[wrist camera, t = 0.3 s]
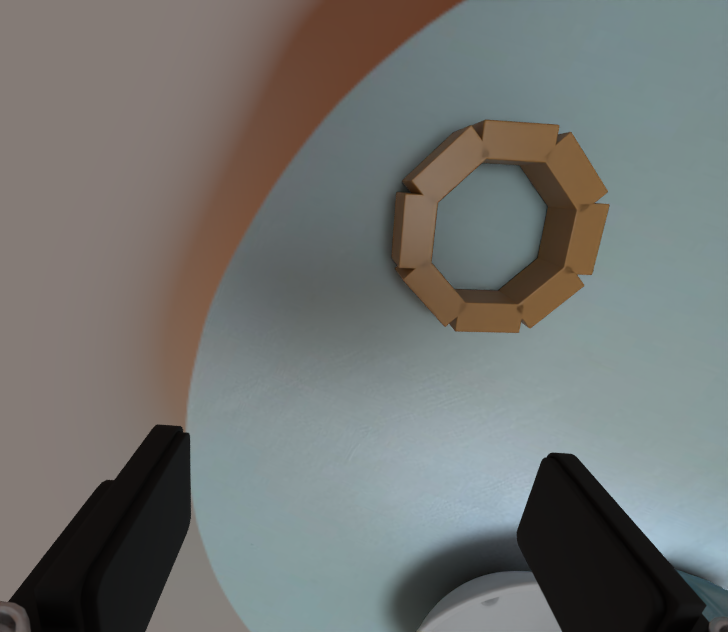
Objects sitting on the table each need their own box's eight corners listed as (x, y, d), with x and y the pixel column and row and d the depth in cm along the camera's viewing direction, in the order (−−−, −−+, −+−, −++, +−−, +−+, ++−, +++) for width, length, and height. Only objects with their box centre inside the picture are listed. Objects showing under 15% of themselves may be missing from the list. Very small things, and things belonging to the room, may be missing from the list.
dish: (568, 499, 31) (609, 555, 27) (590, 609, 36) (629, 673, 31) (366, 565, 32) (372, 630, 27) (415, 663, 37) (426, 733, 32)
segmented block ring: (401, 123, 21) (411, 114, 18) (591, 136, 22) (629, 129, 19) (386, 313, 25) (393, 330, 22) (550, 317, 26) (577, 334, 23)
